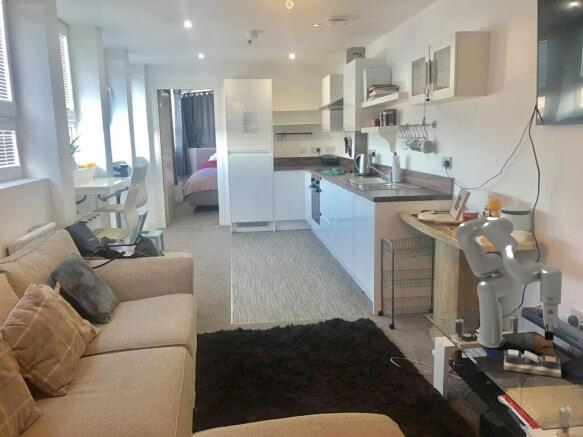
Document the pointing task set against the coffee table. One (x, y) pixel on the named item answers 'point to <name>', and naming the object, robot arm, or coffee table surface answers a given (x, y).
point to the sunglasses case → (543, 346)
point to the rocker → (531, 356)
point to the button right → (550, 358)
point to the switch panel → (533, 365)
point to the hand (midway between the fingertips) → (548, 339)
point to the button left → (513, 353)
